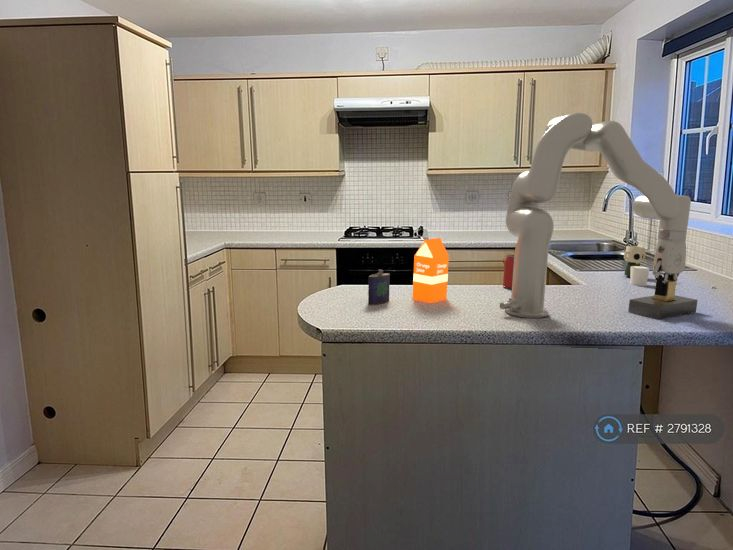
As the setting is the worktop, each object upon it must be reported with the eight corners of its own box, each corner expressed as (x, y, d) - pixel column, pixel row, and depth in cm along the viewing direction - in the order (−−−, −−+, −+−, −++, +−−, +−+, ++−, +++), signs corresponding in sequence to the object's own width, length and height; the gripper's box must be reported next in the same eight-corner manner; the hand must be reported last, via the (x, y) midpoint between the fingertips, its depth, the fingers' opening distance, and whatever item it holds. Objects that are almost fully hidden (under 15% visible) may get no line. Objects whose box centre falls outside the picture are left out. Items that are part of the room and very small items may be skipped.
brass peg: (664, 314, 169) (669, 282, 167) (652, 311, 172) (656, 280, 171) (672, 312, 171) (676, 281, 169) (659, 310, 174) (663, 279, 173)
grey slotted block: (659, 319, 162) (660, 306, 162) (628, 311, 171) (629, 299, 170) (695, 312, 173) (697, 299, 172) (664, 305, 181) (666, 293, 180)
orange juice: (412, 298, 181) (414, 238, 177) (428, 295, 187) (430, 236, 183) (431, 303, 175) (434, 241, 172) (447, 299, 182) (450, 239, 178)
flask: (385, 299, 179) (386, 267, 177) (391, 301, 177) (393, 268, 175) (365, 304, 172) (366, 270, 170) (372, 305, 170) (373, 271, 168)
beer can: (507, 285, 208) (509, 253, 206) (523, 287, 204) (526, 255, 202) (499, 287, 203) (501, 255, 201) (516, 290, 199) (518, 257, 197)
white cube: (651, 286, 213) (653, 268, 212) (633, 286, 213) (635, 268, 212) (642, 283, 220) (644, 265, 218) (625, 282, 220) (627, 265, 218)
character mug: (628, 279, 227) (631, 248, 225) (615, 276, 234) (618, 245, 231) (649, 278, 231) (652, 247, 228) (635, 275, 237) (639, 245, 235)
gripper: (668, 238, 160) (660, 299, 163) (699, 236, 169) (691, 294, 172) (644, 235, 166) (637, 294, 170) (675, 233, 175) (667, 289, 178)
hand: (664, 293), depth 171 cm, fingers closed on brass peg, 4 cm apart
